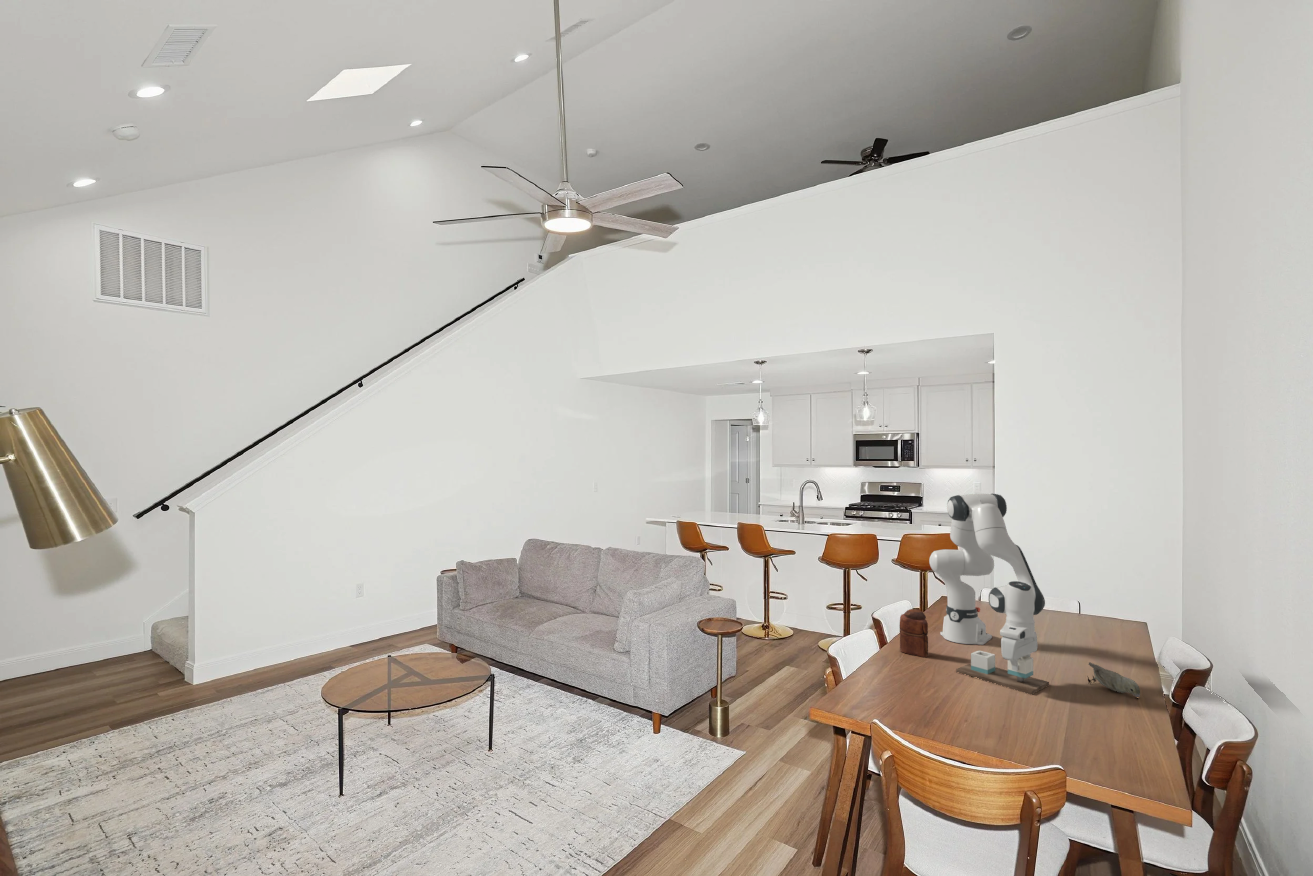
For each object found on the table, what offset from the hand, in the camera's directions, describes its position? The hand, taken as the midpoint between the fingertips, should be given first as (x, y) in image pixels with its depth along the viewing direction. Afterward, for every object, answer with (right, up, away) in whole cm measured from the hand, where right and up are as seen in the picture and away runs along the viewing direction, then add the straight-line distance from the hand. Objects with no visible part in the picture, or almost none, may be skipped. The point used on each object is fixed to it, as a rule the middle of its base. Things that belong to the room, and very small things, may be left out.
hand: (1020, 668), depth 220 cm
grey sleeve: (-8, -5, +10) cm, 14 cm away
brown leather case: (-24, -6, +33) cm, 41 cm away
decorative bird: (+29, -6, -6) cm, 30 cm away
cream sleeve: (0, -2, 0) cm, 2 cm away
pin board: (-4, -6, +5) cm, 9 cm away
